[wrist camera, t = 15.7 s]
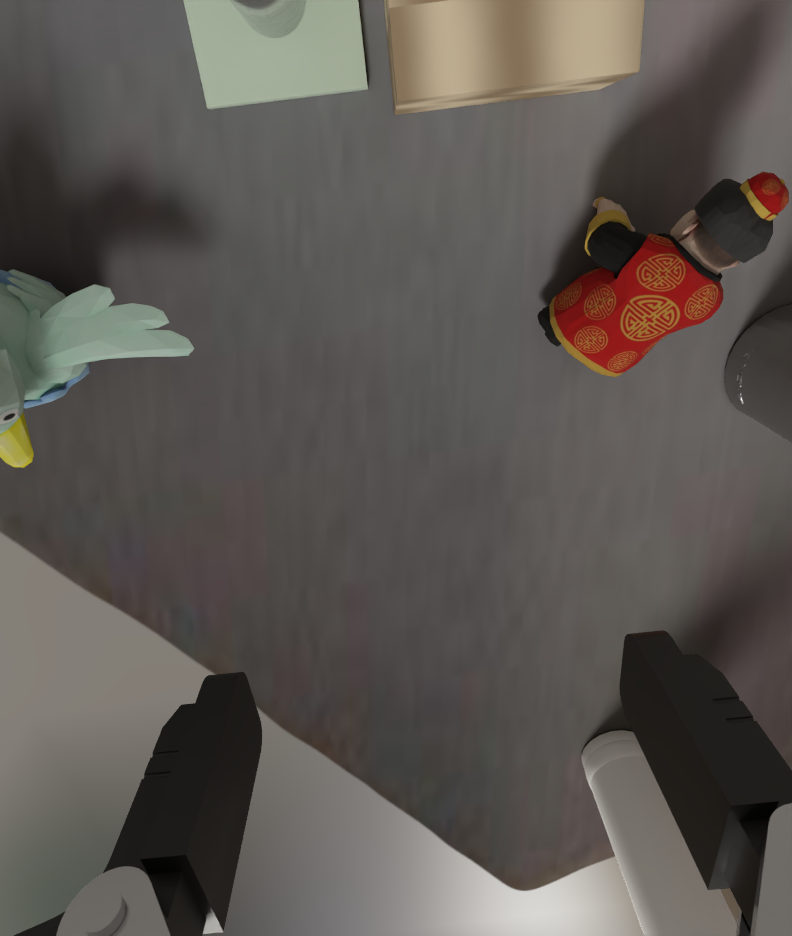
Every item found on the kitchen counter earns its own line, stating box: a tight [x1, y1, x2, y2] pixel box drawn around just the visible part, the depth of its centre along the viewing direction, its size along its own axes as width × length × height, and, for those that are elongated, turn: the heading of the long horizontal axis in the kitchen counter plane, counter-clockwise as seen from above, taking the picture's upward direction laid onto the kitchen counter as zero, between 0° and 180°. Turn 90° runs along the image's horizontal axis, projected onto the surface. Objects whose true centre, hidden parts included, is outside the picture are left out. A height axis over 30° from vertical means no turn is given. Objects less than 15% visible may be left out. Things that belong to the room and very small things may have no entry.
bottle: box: [581, 730, 737, 936], centre depth 50 cm, size 8×8×30 cm
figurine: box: [538, 172, 789, 377], centre depth 36 cm, size 10×10×15 cm
